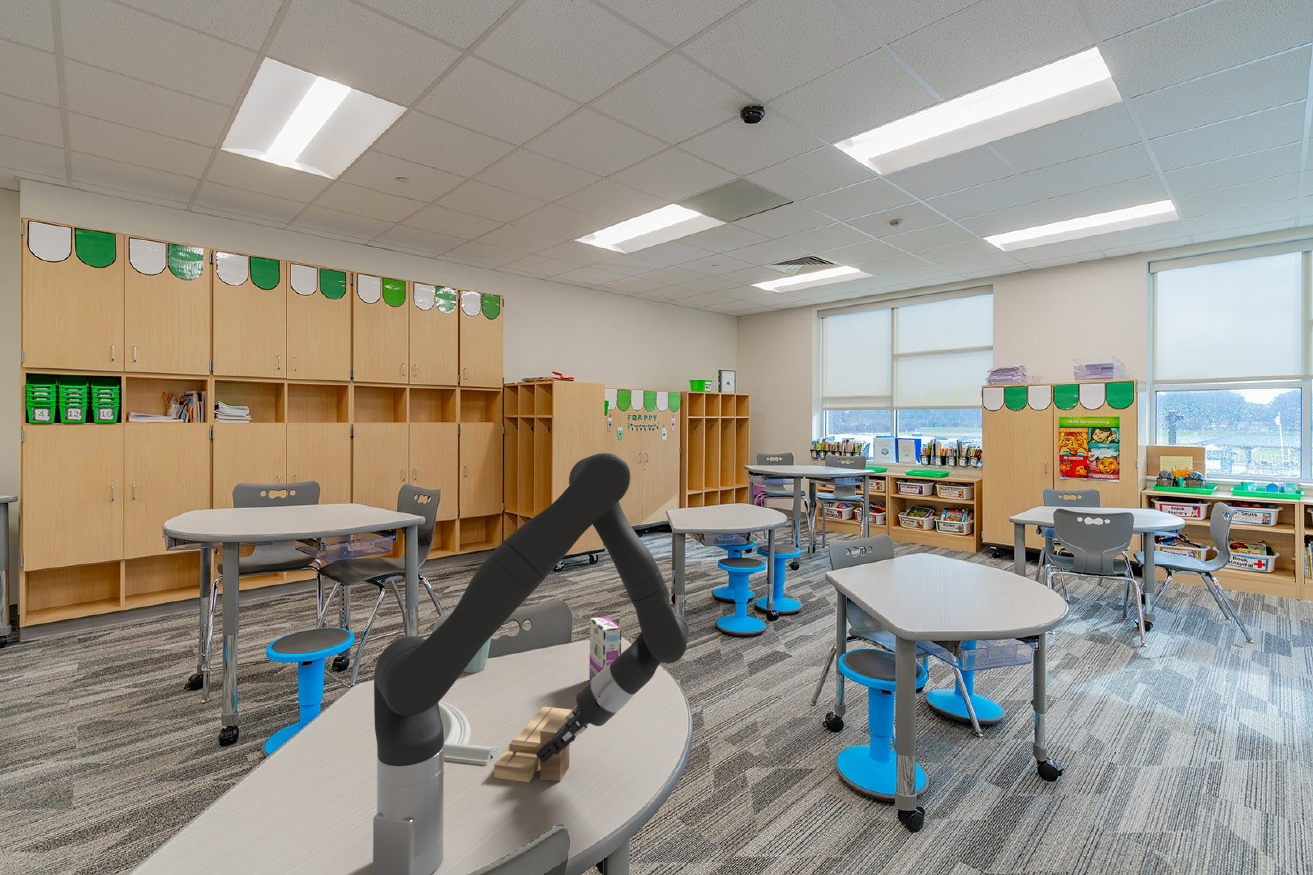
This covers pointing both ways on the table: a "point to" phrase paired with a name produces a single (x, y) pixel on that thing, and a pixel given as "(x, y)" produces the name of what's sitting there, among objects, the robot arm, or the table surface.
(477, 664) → the disposable coffee cup
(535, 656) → the table surface
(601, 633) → the candy bar box
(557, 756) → the wooden block with tab
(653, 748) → the table surface
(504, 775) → the plank
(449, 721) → the molding
